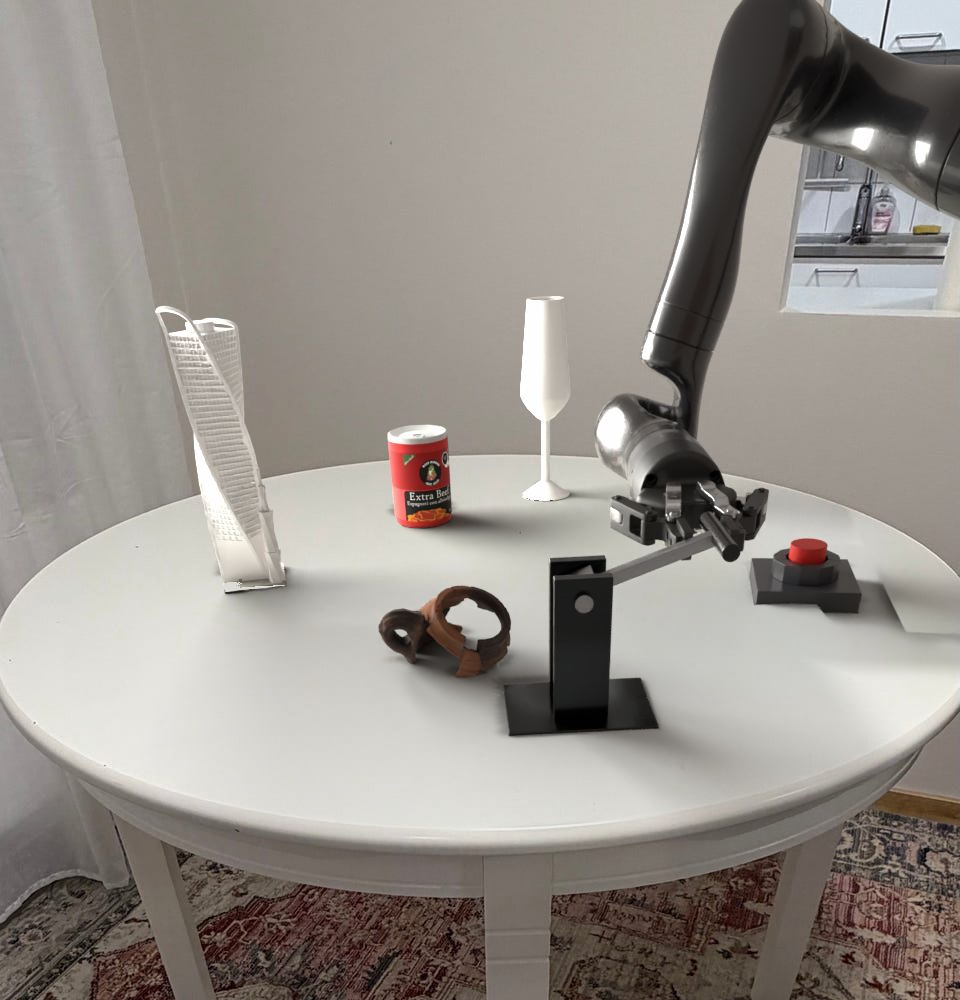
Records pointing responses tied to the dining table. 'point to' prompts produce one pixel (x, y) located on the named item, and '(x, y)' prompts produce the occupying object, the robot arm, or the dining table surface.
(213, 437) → the skyscraper
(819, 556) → the button
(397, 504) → the canned food
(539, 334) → the champagne flute
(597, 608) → the switch bracket
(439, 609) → the brown curved ring piece
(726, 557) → the switch lever
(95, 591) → the dining table surface
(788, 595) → the housing
